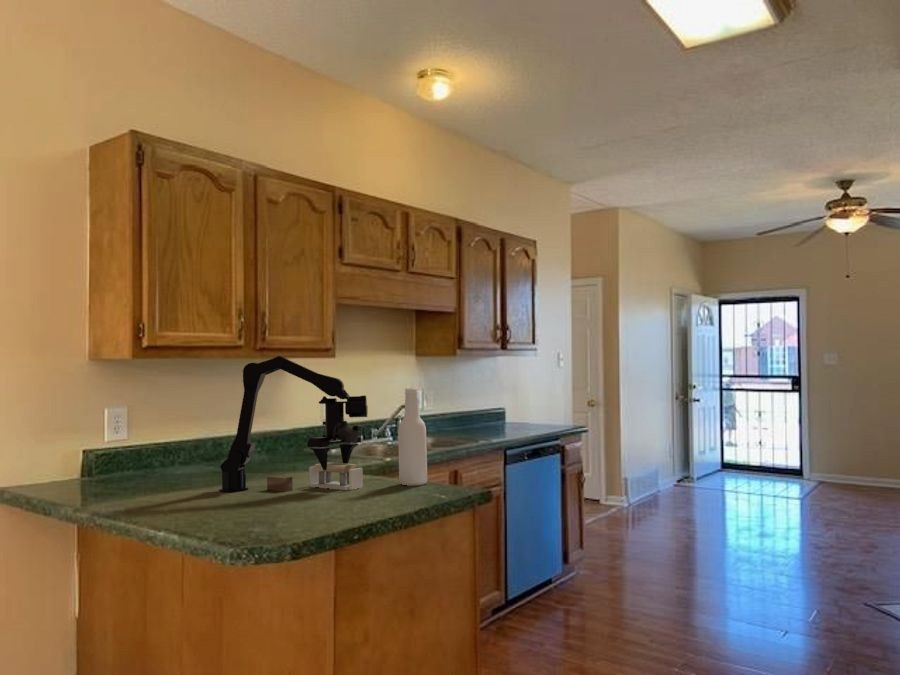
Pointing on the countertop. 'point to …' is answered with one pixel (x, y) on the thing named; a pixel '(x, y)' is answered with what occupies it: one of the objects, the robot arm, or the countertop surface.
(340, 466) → the shelf board
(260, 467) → the countertop surface
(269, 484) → the block
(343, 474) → the peg frame
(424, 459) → the alcohol
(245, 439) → the robot arm
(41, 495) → the countertop surface
